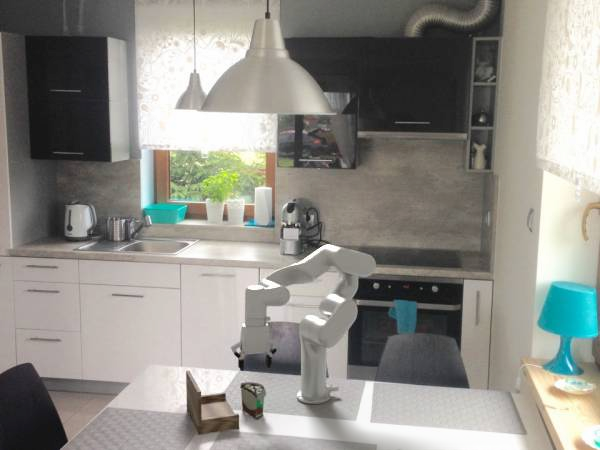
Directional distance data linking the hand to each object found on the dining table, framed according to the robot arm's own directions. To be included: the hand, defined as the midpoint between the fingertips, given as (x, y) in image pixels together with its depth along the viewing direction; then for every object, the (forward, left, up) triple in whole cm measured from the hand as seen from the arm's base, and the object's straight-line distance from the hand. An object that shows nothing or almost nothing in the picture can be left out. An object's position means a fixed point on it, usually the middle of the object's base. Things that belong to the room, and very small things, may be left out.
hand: (254, 368), depth 251 cm
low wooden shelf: (+15, 0, -17) cm, 23 cm away
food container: (-1, 0, -17) cm, 17 cm away
